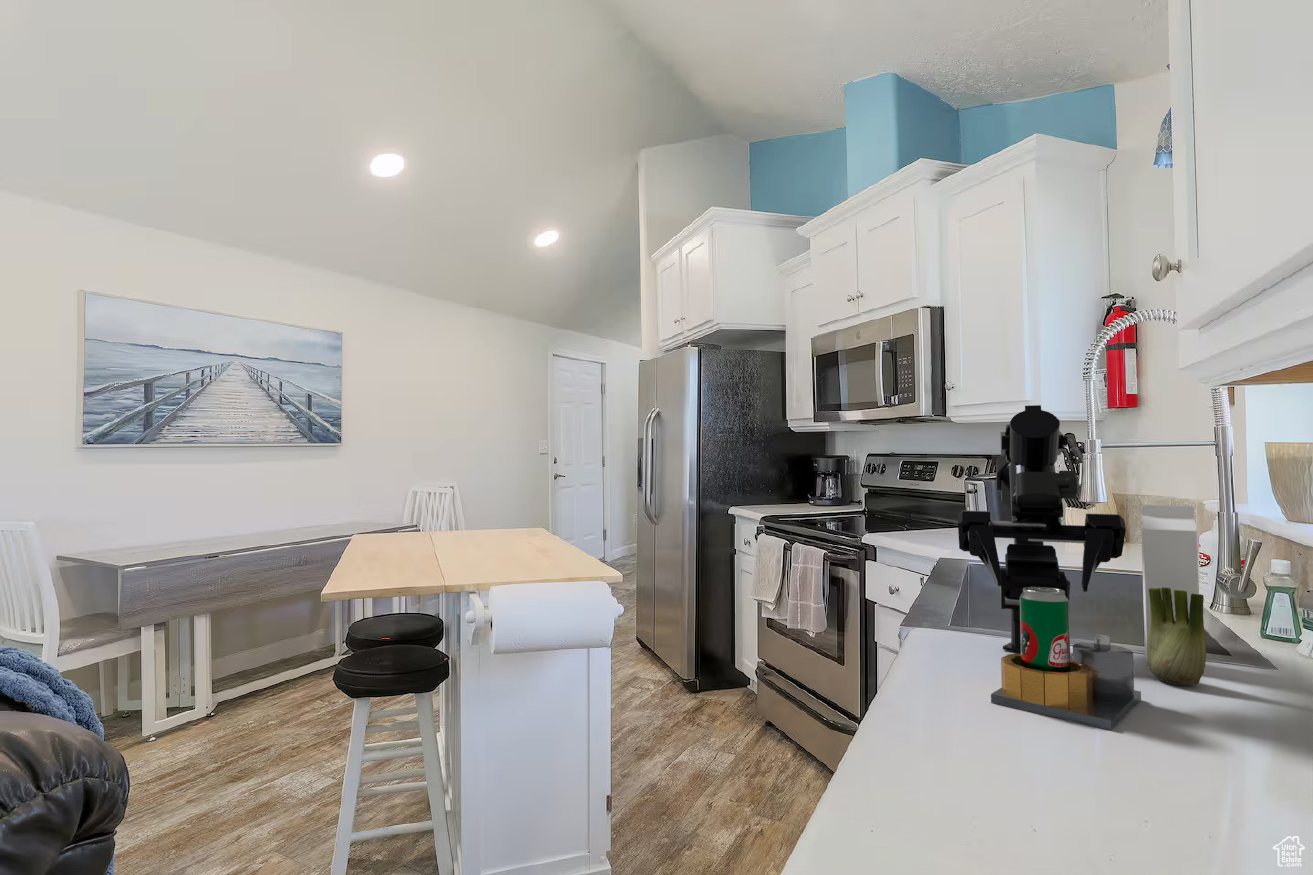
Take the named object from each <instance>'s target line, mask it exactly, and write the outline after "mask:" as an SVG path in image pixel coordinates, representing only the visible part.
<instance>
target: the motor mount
mask: <svg viewBox="0 0 1313 875" xmlns="http://www.w3.org/2000/svg"><path fill="white" fill-rule="evenodd" d="M1070 665H1071V672H1065V673H1060V672H1046V671H1040V670H1034V669H1029V668H1025V667H1022V666H1021V653H1020V652H1018V653H1009V654H1006V655H1004V656H1002V657H1001V658H1000V667H1001V668H1000V672H1001V674H1000V675H1001V676H1000V678H1001V679H1000V680H1001V687H1000V688H999V689H997V690H995V691H993V692H992V693H990V703H992V704H995V705H1000V706H1005V707H1009V708H1013V709H1017V710H1022V711H1026V712H1031V713H1034V714H1039V715H1043V716H1048V717H1053V718H1056V719H1060V720H1064V721H1069V722H1074V723H1079V724H1083V725H1087V726H1091V727H1096V728H1099V729H1103V730H1104V729H1105V730H1109V731H1112V730H1113V729H1114V728H1115V727H1116V726H1117V725H1118V724H1119V723H1120V722H1121V721H1122V720H1123V719H1124V718H1125V717H1126V716H1127V715H1128V714H1130V712H1131V711H1132V710H1133V709H1134V708H1135V707H1136V706H1137V705H1138V704H1139V703H1140V702H1142V691H1139V690H1135V672H1134V668H1135V666H1134V665H1135V664H1134V651H1132V650H1130V649H1129V648H1125V647H1122V646H1119V645H1118V646H1117V645H1114V644H1111V637H1110V635H1105V634H1094V635H1093V642H1077V643H1074V644H1072V658H1070Z"/></svg>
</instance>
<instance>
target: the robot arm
mask: <svg viewBox="0 0 1313 875" xmlns="http://www.w3.org/2000/svg"><path fill="white" fill-rule="evenodd" d="M1010 419H1011V420H1010V422H1009V423H1010V424H1009V423H1008V424H1006V425H1005V428H1004V431H1001V432H1000V455H999V456H998V457H997V458H996V466H995V467H996V469H995V471H996V476H995V477H996V492H1000V495H1001V496H1000V497H1001V503H1003V504H1004V505H1005V506H1007V507H1009V508H1010V511H1011V512H1010V513H1011V521H1010V520H1009V521H1008V520H991V511H990V510H961V512H959V513H958V515H957V530H958V549H960V550H961V551H962V552H967V553H968V552H969V555H970V556H972V557H978V558H979V560H980V561H981V562H982V563H983V565H985V567H986V568H987V570H988V571H989V573H990V576H991V577H992V578H993V580H994V582H995V584H996V586H997V587H999V588H1000V590H999V591H1000V593H999V594H1000V608H1001V610H1006V609H1007V610H1010V642H1009V643H1006V644H1004V645H1002V650H1004V651H1010V652H1015V653H1021V638H1020V596H1021V594H1022V593H1023V588H1025V587H1049V588H1056V589H1061V590H1064V591H1065V596H1066V598H1067V599H1068V600H1069V601H1070V593H1071V591H1070V590H1071V581H1070V580H1069V579H1068V578H1067V576H1066V573H1065V571H1064V570H1060V566H1059V565H1060V564H1059V560H1058V556H1057V552H1056V549H1055V547H1054V546H1053V545H1051V544H1050V545H1047V544H1044V542H1045V543H1046V542H1047V543H1065V544H1066V543H1072V544H1083V552H1082V553H1083V554H1082V555H1083V556H1082V567H1081V568H1082V571H1081V572H1082V574H1081V587H1082V592H1083V593H1084V592H1088V591H1089V587H1090V584H1091V581H1092V579H1093V575H1094V574H1095V572H1096V570H1097V569H1098V567H1099V566H1100V564H1101V563H1108V562H1110V561H1111V559H1118V558H1121V557H1122V556H1123V550H1124V546H1125V545H1124V543H1125V538H1126V532H1127V527H1126V523H1125V519H1124V518H1123V517H1122V516H1121V515H1120V514H1116V513H1085V518H1084V525H1078V524H1077V525H1075V524H1074V525H1071V524H1070V525H1069V524H1062V518H1064V517H1063V516H1064V504H1063V500H1064V499H1065V500H1067V499H1068V500H1071V499H1072V500H1073V499H1074V500H1075V499H1077V495H1078V490H1079V488H1078V478H1077V473H1076V470H1059V471H1058V472H1057V471H1056V466H1055V464H1056V462H1057V461H1058V456H1061V454H1062V452H1063V450H1064V448H1066V447H1068V436H1065V435H1064V434H1063V433H1062V432H1061V431H1060V425H1061V421H1060V419H1059V418H1058V417H1057V416H1056V415H1054V413H1052V412H1049V411H1046V410H1042V405H1040V404H1037V405H1036V404H1035V405H1024V410H1023V411H1020V412H1018V413H1017V414H1015V415H1014V416H1012V417H1011V418H1010ZM996 538H997V539H1000V538H1001V539H1013V543H1009V544H1008V545H1007V546H1006V553H1005V554H1004V556H1005V557H1004V561H1005V562H1004V567H1001V566H1000V559H999V555H998V549H997V545H996Z"/></svg>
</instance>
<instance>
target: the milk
mask: <svg viewBox="0 0 1313 875" xmlns="http://www.w3.org/2000/svg"><path fill="white" fill-rule="evenodd" d="M1140 525H1141V527H1140V532H1141V562H1142V563H1141V565H1142V566H1141V568H1142V594H1143V595H1142V598H1143V599H1142V600H1143V630H1144V631H1143V632H1144V658H1145V661H1146V665H1147V666H1148V663H1147V645H1148V636H1149V631H1150V624H1151V607H1150V597H1149V589H1150V588H1160V589H1161V588H1162V587H1163V588H1170V589H1171V595H1172V604H1173V614H1174V620H1175V621H1176V617H1175V605H1174V604H1175V601H1174V590H1181V591H1187V600H1188V615H1189V611H1190V601H1191V594H1192V593H1194V594H1200V588H1199V587H1200V585H1199V555H1198V554H1199V553H1198V552H1199V550H1198V548H1199V547H1198V529H1197V524H1196V519H1195V509H1194V506H1192V505H1169V504H1168V505H1166V504H1165V505H1164V504H1162V505H1161V504H1144V505H1142V506H1141V524H1140ZM1161 595H1162V592H1161Z"/></svg>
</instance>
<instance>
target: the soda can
mask: <svg viewBox="0 0 1313 875" xmlns="http://www.w3.org/2000/svg"><path fill="white" fill-rule="evenodd" d="M1019 601H1020V638H1021V666H1022V667H1025V668H1029V669H1034V670H1040V671H1046V672H1060V673H1065V672H1071V665H1070V659H1071V636H1070V635H1071V634H1070V633H1071V631H1070V630H1071V629H1070V627H1071V626H1070V599H1069V600H1068V599H1067V598H1066V596H1065V591H1064V590H1061V589H1056V588H1049V587H1025V588H1023V593H1022V594H1021V596H1020V600H1019Z"/></svg>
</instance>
